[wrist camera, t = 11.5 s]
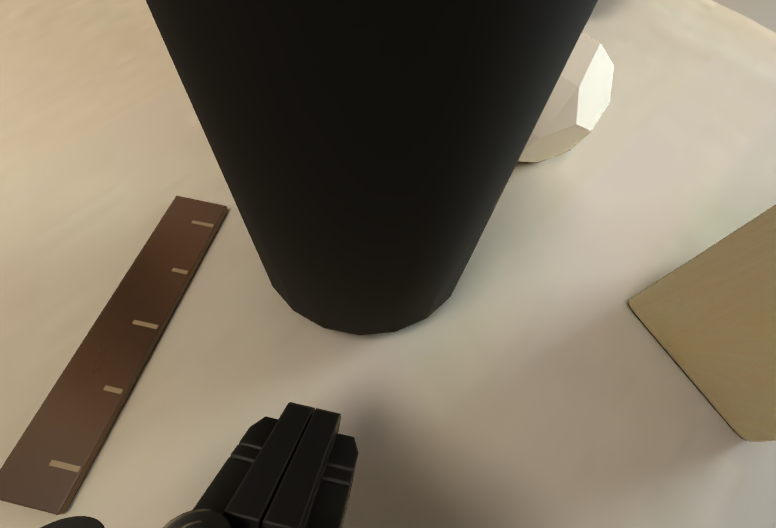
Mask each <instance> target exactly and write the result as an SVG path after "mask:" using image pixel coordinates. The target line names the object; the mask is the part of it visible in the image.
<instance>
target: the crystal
mask: <svg viewBox="0 0 776 528" xmlns="http://www.w3.org/2000/svg"><path fill="white" fill-rule="evenodd" d="M613 71H614V65H613V63H612V61H611V60H610V58H609V56H608V55H607V53H606V51H605V50H604V48H603V46H602V45H601V43H600V42H598V41H597V40H595V39H593V38H592V37H590V36H588V35H586V34H585V33H583V32H582V33H581V35H580V37H579V39H578V41H577V43H576V45H575V47H574V49H573V51H572V53H571V55H570V57H569V59H568V61H567V63H566V65H565V67H564V69H563V71H562V73H561V75H560V77H559V79H558V81H557V83H556V85H555V87H554V89H553V91H552V93H551V95H550V97H549V99H548V101H547V103H546V106H545V108H544V110H543V112H542V114H541V116H540V118H539V120H538V122H537V124H536V126H535V128H534V130H533V132H532V134H531V136H530V138H529V140H528V142H527V144H526V146H525V148H524V150H523V152H522V154H521V156H520V158H519V160H518V161H521V162H540V161H543V160H545V159H548V158H551V157H554V156H556V155H559V154H562V153H564V152H567V151H570V150H571V149H572V148H573V147H574V146H575V145H576V144H578V143H579V142H580V141H581V140H582V139H583V138H584V137H586V136H587V135H588V134H589V133H590V132H591V131H592V130H593V128H594V127H595V125H596V123H597V122H598V120H599V119H600V117H601V115H602V114H603V112H604V111H605V109H606V107H607V106H608V104H609V103H610V95H611V87H612V79H613Z"/></svg>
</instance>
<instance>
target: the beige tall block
mask: <svg viewBox="0 0 776 528" xmlns="http://www.w3.org/2000/svg"><path fill="white" fill-rule="evenodd" d="M629 305H630V307H631V308H632V310H633V311H634V313H635V314H636V315H637V316H638V317H639V319H640V320H641V321H642V322H643V323H644V325H645V326H646V327H647V328H648V329H649V331H650V332H651V333H652V334H653V335H654V336H655V338H656V339H657V340H658V341H659V342H660V344H661V345H662V346H663V347H664V348H665V349H666V351H667V352H668V353H669V354H670V355H671V357H672V358H673V359H674V360H675V361H676V362H677V364H678V365H679V366H680V367H681V368H682V369H683V371H684V372H685V373H686V374H687V375H688V377H689V378H690V379H691V380H692V381H693V382H694V384H695V385H696V386H697V387H698V388H699V389H700V391H701V392H702V393H703V394H704V395H705V396H706V398H707V399H708V400H709V401H710V402H711V404H712V405H713V406H714V407H715V408H716V410H717V411H718V412H719V413H720V414H721V415H722V417H723V418H724V419H725V420H726V421H727V422H728V424H729V425H730V426H731V427H732V428H733V429H734V430H735V431H736V432H737V433H738V434H739V435H740V436H741V437H742V438H744V439H745V440H747V441H750V442H761V441H773V440H776V205H774V206H773V207H771V208H770V209H768V210H767V211H765V212H764V213H762V214H761V215H759V216H758V217H756V218H754V219H753V220H751V221H750V222H748V223H747V224H745V225H744V226H742V227H740V228H739V229H737V230H736V231H734V232H733V233H731V234H730V235H728V236H727V237H725V238H723V239H722V240H720V241H719V242H717V243H716V244H714V245H713V246H711V247H710V248H708V249H707V250H705V251H703V252H702V253H700V254H699V255H697V256H696V257H694V258H693V259H691V260H690V261H688V262H686V263H685V264H683V265H682V266H680V267H679V268H677V269H676V270H674V271H673V272H671V273H670V274H668V275H666V276H665V277H663V278H662V279H660V280H659V281H657V282H656V283H654V284H653V285H651V286H649V287H648V288H646V289H645V290H643V291H642V292H640V293H639V294H637V295H636V296H634V297H632V298H631V299H630V300H629Z"/></svg>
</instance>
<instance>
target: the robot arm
mask: <svg viewBox="0 0 776 528" xmlns="http://www.w3.org/2000/svg"><path fill="white" fill-rule="evenodd" d="M340 420H341V414H339V413H335V412H330V411H326V410H322V409H318V408H316V409H315V408H313V407H309V406H304V405H300V404H296V403H291V402H290V403H288V405H287V406H286V408H285V410H284V411H283V413H282V415H281V416H280V418H279V420H278V419H274V418H269V417H264V418H263V419H261V420H260V421H258V422H257V423H255V424H254V425H252V426H251V427H250V428H249V429H248V431H247V432H246V434H245V435H244V436H243V438H242V439H241V441H240V443H239V445H237V447H236V448H235V450H234V451H233V452H232V454H231V457H230V458H228V460H227V461H226V463H225V464H224V465H223V467H222V468H221V470H220V471H219V473H218V474H217V476H216V477H215V479H214V480H213V481H212V483H211V484H210V486H209V487H208V489H207V490H206V492H205V493H204V495H203V496H202V497H201V499H200V500H199V502H198V503H197V505H196V506H195V507H194V509H193V510H192V511H189V512H186V513H183V514H181V515H179V516H177V517H176V518H174V519H173V520H171V521H170V522H169V523H167V524H166V525H165V526H164V527H163V528H342V526H343V521H344V517H345V513H346V509H347V505H348V500H349V496H350V491H351V486H352V481H353V476H354V471H355V467H356V462H357V457H358V450H357V446H356V442H355V438H354V437H350V436H346V435H342V434H338V431H339V426H340ZM41 528H105V527H104V525H103V524H102V523H101V522H100V521H98V520H97V519H95V518H91V517H86V516H75V517H69V518H65V519H61V520H58V521H55V522H52V523H50V524H48V525H45V526H43V527H41Z"/></svg>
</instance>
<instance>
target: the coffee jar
mask: <svg viewBox="0 0 776 528" xmlns="http://www.w3.org/2000/svg"><path fill="white" fill-rule="evenodd" d="M597 1H598V0H146V2H147V4H148V6H149V8H150V11H151V13H152V15H153V18H154V20H155V22H156V24H157V27H158V29H159V31H160V33H161V36H162V38H163V40H164V42H165V45H166V47H167V49H168V51H169V54H170V56H171V58H172V60H173V63H174V65H175V67H176V69H177V72H178V74H179V76H180V78H181V81H182V83H183V85H184V87H185V90H186V92H187V94H188V96H189V99H190V101H191V103H192V105H193V108H194V110H195V112H196V114H197V117H198V119H199V121H200V123H201V126H202V128H203V130H204V133H205V135H206V137H207V139H208V142H209V144H210V146H211V148H212V151H213V153H214V155H215V157H216V160H217V162H218V164H219V166H220V169H221V171H222V173H223V175H224V178H225V180H226V182H227V184H228V187H229V189H230V191H231V193H232V196H233V198H234V200H235V202H236V205H237V207H238V209H239V211H240V214H241V216H242V218H243V220H244V223H245V225H246V227H247V229H248V232H249V234H250V236H251V238H252V241H253V243H254V245H255V247H256V250H257V252H258V254H259V257H260V259H261V261H262V263H263V266H264V268H265V270H266V272H267V275H268V277H269V279H270V281H271V284H272V286H273V287H274V288H275V290H276V291H277V292H278V293H279V294H280V295H281V297H282V298H283V299H284V300H285V301H286V302H287V304H288V305H289V306H290V307H291V308H292V309H293V310H294V311H295V312H297V313H299V314H300V315H302V316H304V317H306V318H307V319H309V320H311V321H313V322H314V323H316V324H318V325H320V326H322V327H323V328H327V329H332V330H337V331H342V332H347V333H352V334H356V335H365V334H375V333H385V332H395V331H398V330H400V329H402V328H405V327H407V326H409V325H412V324H414V323H416V322H419V321H421V320H423V319H426V318H427V317H428V316H429V315H431V314H432V313H433V312H434V311H435V310H436V309H437V308H438V307H439V306H440V305H442V304H443V303H444V302H445V301H446V300H447V299H448V298H449V297H450V296H451V294H452V292H453V290H454V288H455V286H456V284H457V282H458V280H459V279H460V277H461V275H462V273H463V271H464V269H465V267H466V265H467V263H468V261H469V259H470V257H471V255H472V253H473V251H474V249H475V247H476V245H477V243H478V241H479V239H480V237H481V235H482V233H483V230H484V228H485V226H486V224H487V222H488V220H489V218H490V216H491V214H492V212H493V210H494V208H495V206H496V204H497V202H498V200H499V198H500V196H501V194H502V192H503V190H504V188H505V186H506V184H507V182H508V180H509V178H510V176H511V174H512V172H513V170H514V168H515V166H516V164H517V162H518V160H519V158H520V156H521V154H522V152H523V150H524V148H525V146H526V144H527V142H528V140H529V138H530V136H531V134H532V132H533V130H534V128H535V126H536V124H537V122H538V120H539V118H540V116H541V114H542V112H543V110H544V108H545V106H546V103H547V101H548V99H549V97H550V95H551V93H552V91H553V89H554V87H555V85H556V83H557V81H558V79H559V77H560V75H561V73H562V71H563V69H564V67H565V65H566V63H567V61H568V59H569V57H570V55H571V53H572V51H573V49H574V47H575V45H576V43H577V41H578V39H579V37H580V35H581V33H582V31H583V29H584V27H585V25H586V23H587V21H588V19H589V17H590V15H591V13H592V11H593V9H594V7H595V5H596V3H597Z"/></svg>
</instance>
